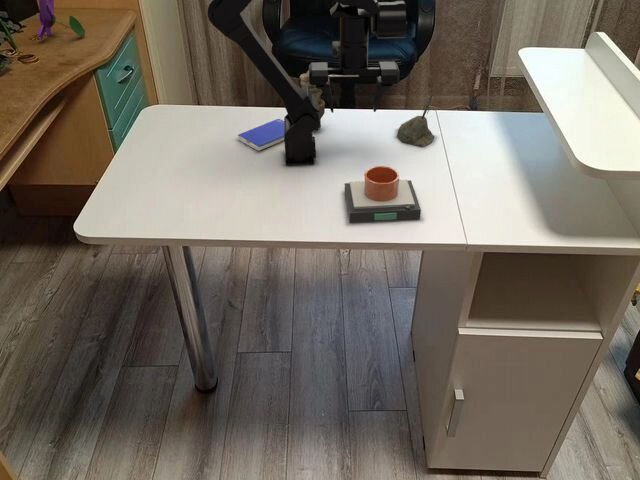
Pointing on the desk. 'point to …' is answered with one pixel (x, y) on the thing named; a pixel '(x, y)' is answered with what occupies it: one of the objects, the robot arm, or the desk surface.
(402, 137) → the sword in stone
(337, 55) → the robot arm
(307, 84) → the light bulb
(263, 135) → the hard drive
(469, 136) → the desk surface
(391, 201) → the scale
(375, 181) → the bowl
